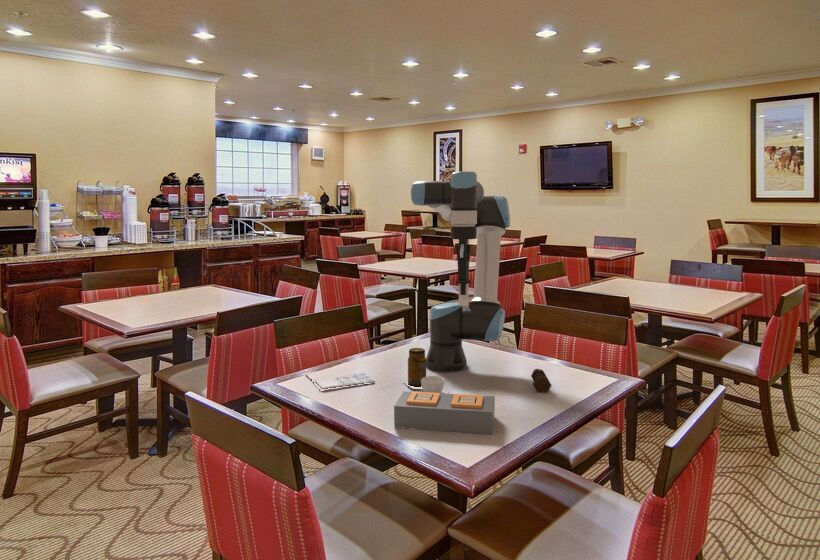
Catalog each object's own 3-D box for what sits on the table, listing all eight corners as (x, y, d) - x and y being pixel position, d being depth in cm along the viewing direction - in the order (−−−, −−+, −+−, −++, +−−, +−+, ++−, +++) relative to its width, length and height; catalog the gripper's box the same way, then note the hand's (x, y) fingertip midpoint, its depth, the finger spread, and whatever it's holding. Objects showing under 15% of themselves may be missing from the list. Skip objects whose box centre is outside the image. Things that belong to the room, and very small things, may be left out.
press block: (403, 411, 160) (403, 388, 159) (494, 417, 154) (494, 393, 154) (394, 427, 148) (394, 403, 147) (492, 434, 143) (492, 409, 142)
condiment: (423, 380, 188) (422, 346, 186) (432, 388, 180) (432, 352, 178) (402, 383, 185) (402, 348, 184) (411, 390, 177) (411, 354, 176)
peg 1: (418, 416, 155) (417, 394, 154) (432, 417, 154) (432, 394, 153) (415, 422, 151) (415, 399, 150) (429, 423, 150) (429, 399, 149)
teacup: (417, 388, 180) (416, 374, 179) (447, 388, 180) (447, 374, 179) (417, 399, 170) (417, 384, 169) (449, 399, 170) (449, 384, 169)
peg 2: (460, 419, 152) (460, 396, 151) (475, 420, 152) (475, 397, 151) (459, 425, 148) (459, 401, 148) (474, 426, 148) (474, 402, 147)
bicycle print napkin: (320, 393, 177) (319, 387, 177) (305, 376, 195) (304, 370, 195) (375, 385, 185) (375, 379, 184) (356, 369, 203) (356, 363, 203)
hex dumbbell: (539, 383, 189) (544, 397, 174) (526, 376, 189) (530, 388, 175) (548, 369, 188) (554, 381, 173) (535, 361, 189) (540, 373, 174)
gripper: (453, 224, 168) (453, 301, 171) (448, 226, 155) (448, 308, 159) (478, 224, 167) (477, 301, 170) (474, 226, 154) (474, 309, 157)
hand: (463, 305), depth 164 cm, fingers closed
